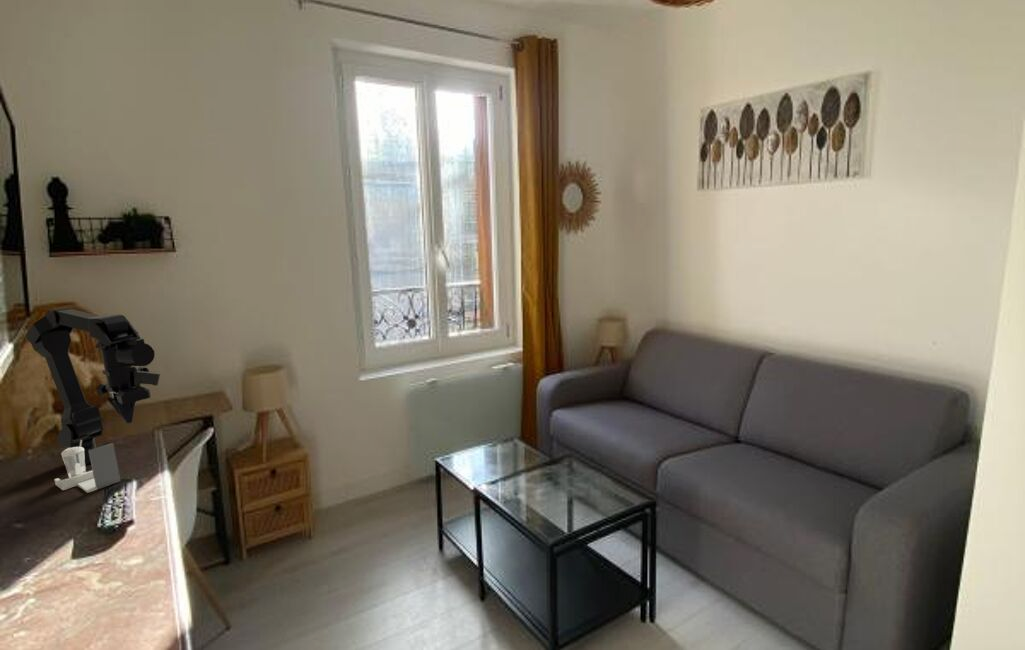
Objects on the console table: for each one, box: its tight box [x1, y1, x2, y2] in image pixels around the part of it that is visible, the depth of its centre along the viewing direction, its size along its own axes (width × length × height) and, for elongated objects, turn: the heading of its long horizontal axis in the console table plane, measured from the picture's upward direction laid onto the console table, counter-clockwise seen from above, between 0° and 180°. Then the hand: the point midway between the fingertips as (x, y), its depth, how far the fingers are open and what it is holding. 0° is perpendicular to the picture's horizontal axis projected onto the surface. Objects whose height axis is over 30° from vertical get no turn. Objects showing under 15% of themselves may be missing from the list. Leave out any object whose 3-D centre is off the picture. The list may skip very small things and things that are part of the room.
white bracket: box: [54, 443, 121, 494], centre depth 138 cm, size 13×10×10 cm
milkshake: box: [61, 440, 87, 478], centre depth 140 cm, size 4×5×10 cm
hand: (129, 422), depth 144 cm, fingers closed
